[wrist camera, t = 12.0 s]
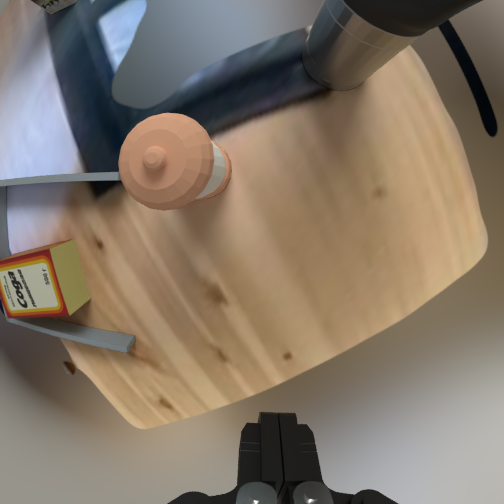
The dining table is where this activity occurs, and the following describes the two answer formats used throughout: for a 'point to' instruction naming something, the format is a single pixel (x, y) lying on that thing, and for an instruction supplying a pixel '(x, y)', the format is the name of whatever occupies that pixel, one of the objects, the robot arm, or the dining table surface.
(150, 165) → the pepper shaker
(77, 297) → the baking soda box
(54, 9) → the coffee box
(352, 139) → the dining table surface
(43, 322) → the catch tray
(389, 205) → the dining table surface
